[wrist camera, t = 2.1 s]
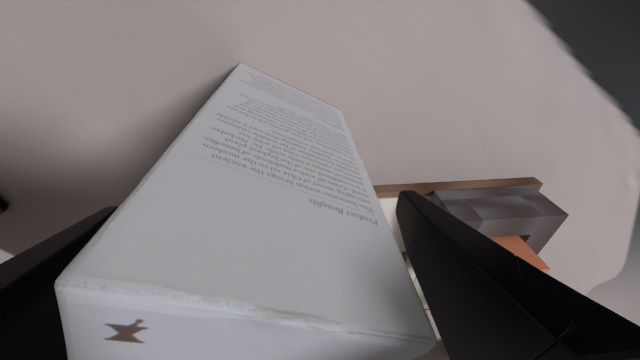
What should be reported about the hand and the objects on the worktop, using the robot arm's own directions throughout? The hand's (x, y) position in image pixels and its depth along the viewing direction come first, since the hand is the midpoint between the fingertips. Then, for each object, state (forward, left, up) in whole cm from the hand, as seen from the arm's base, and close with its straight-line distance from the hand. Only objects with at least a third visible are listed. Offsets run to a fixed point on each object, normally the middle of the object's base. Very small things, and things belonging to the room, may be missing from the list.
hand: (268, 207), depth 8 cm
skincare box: (0, 0, -8) cm, 8 cm away
